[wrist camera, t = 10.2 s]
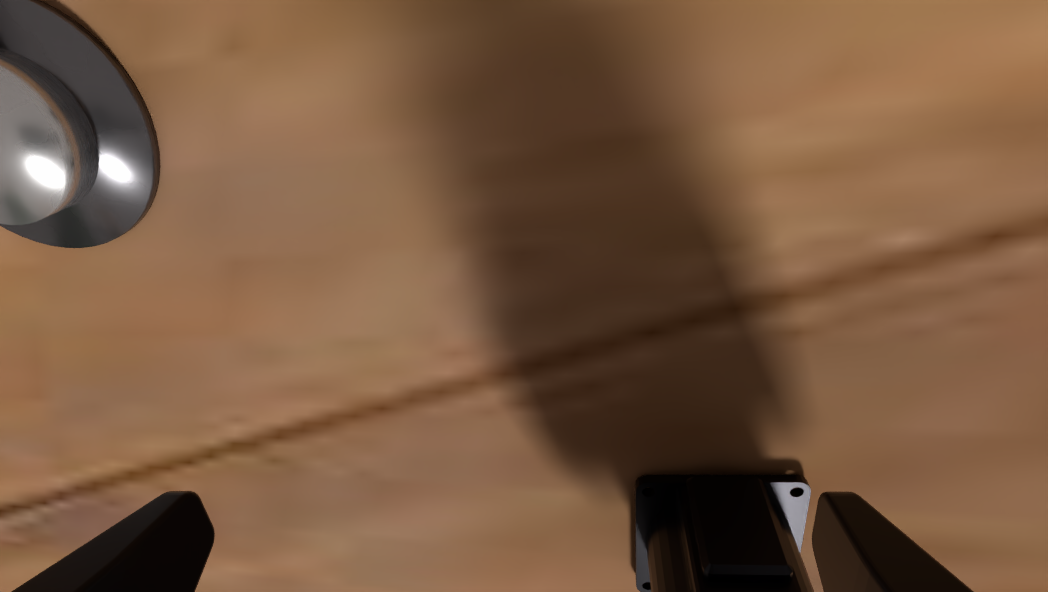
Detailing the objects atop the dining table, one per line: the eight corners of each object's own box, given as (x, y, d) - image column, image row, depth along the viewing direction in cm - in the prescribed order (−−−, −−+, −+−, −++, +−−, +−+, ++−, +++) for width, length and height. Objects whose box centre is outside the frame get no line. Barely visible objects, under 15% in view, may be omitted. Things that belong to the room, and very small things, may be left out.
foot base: (194, 237, 21) (187, 241, 20) (-12, 249, 22) (-22, 253, 21) (97, -27, 17) (87, -27, 17) (-146, 2, 18) (-161, 2, 18)
